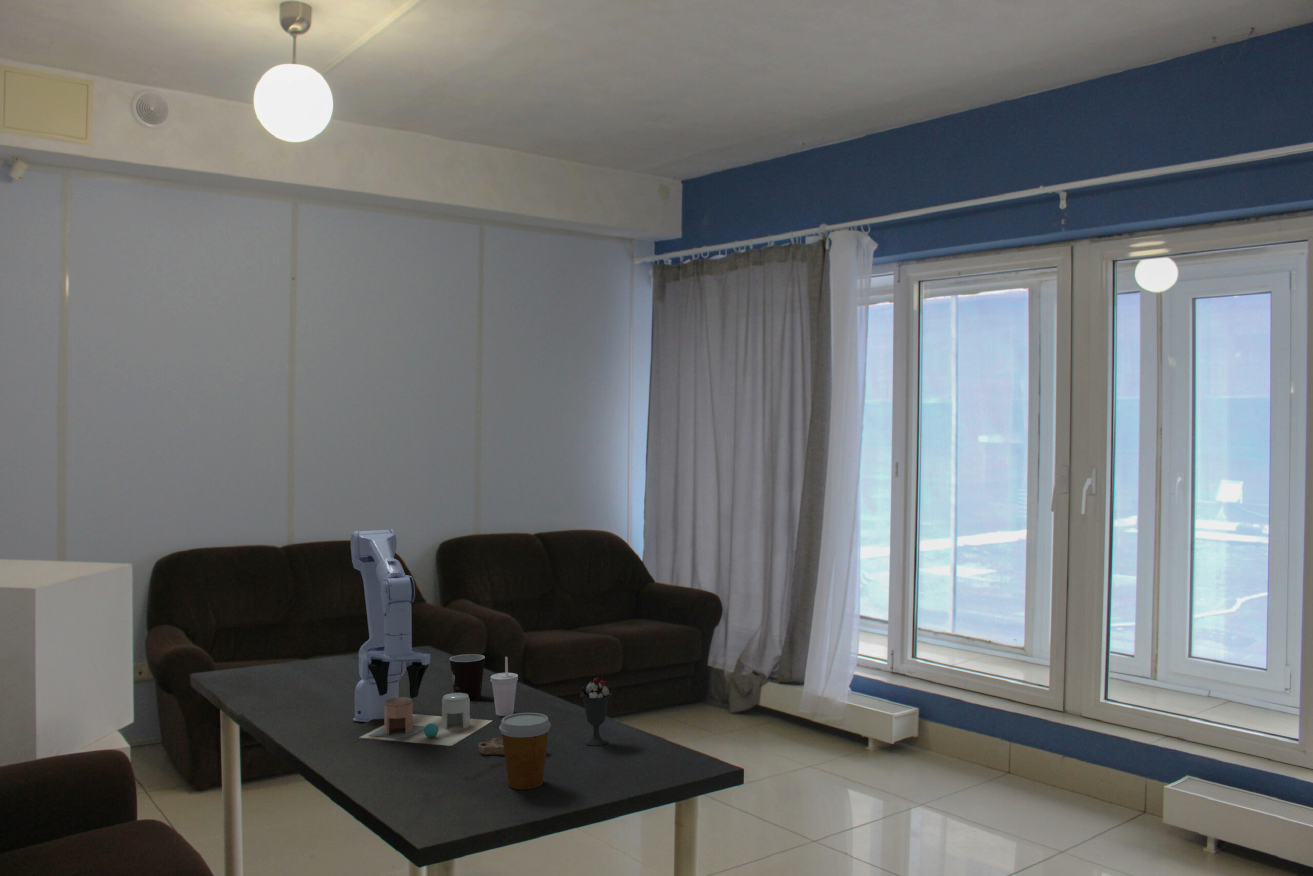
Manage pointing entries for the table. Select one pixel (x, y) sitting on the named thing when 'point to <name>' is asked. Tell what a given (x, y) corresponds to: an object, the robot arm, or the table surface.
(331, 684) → the table surface
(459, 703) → the white round stool
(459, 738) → the board
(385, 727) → the pink stool
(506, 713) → the smoothie
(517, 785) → the disposable coffee cup
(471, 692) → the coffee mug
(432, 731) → the marble
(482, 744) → the oil lamp
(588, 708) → the sundae
